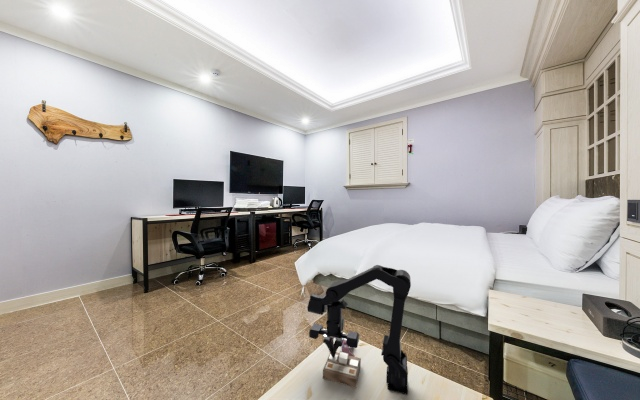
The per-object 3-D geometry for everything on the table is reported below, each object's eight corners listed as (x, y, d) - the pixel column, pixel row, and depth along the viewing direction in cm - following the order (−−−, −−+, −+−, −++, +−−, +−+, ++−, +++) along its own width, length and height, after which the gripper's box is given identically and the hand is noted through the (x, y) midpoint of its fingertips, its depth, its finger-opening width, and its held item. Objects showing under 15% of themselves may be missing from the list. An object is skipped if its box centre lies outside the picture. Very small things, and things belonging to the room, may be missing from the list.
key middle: (348, 360, 87) (348, 353, 87) (346, 365, 84) (346, 359, 84) (340, 358, 88) (340, 351, 88) (338, 363, 85) (338, 357, 85)
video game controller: (345, 349, 99) (339, 334, 99) (355, 345, 98) (348, 330, 99) (346, 366, 89) (338, 349, 89) (357, 361, 88) (349, 345, 89)
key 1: (337, 361, 88) (338, 355, 88) (336, 366, 85) (336, 360, 85) (330, 359, 89) (330, 353, 89) (328, 364, 86) (328, 358, 86)
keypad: (360, 365, 87) (360, 357, 87) (356, 387, 77) (356, 378, 77) (330, 358, 91) (330, 350, 91) (322, 378, 81) (322, 369, 81)
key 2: (358, 367, 86) (358, 360, 86) (357, 373, 83) (357, 366, 83) (350, 365, 87) (350, 358, 86) (349, 371, 84) (349, 364, 84)
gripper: (361, 311, 92) (360, 349, 92) (318, 303, 97) (317, 339, 98) (357, 325, 81) (356, 368, 81) (308, 316, 87) (308, 356, 87)
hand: (333, 356), depth 87 cm, fingers closed, pressing on key 1
